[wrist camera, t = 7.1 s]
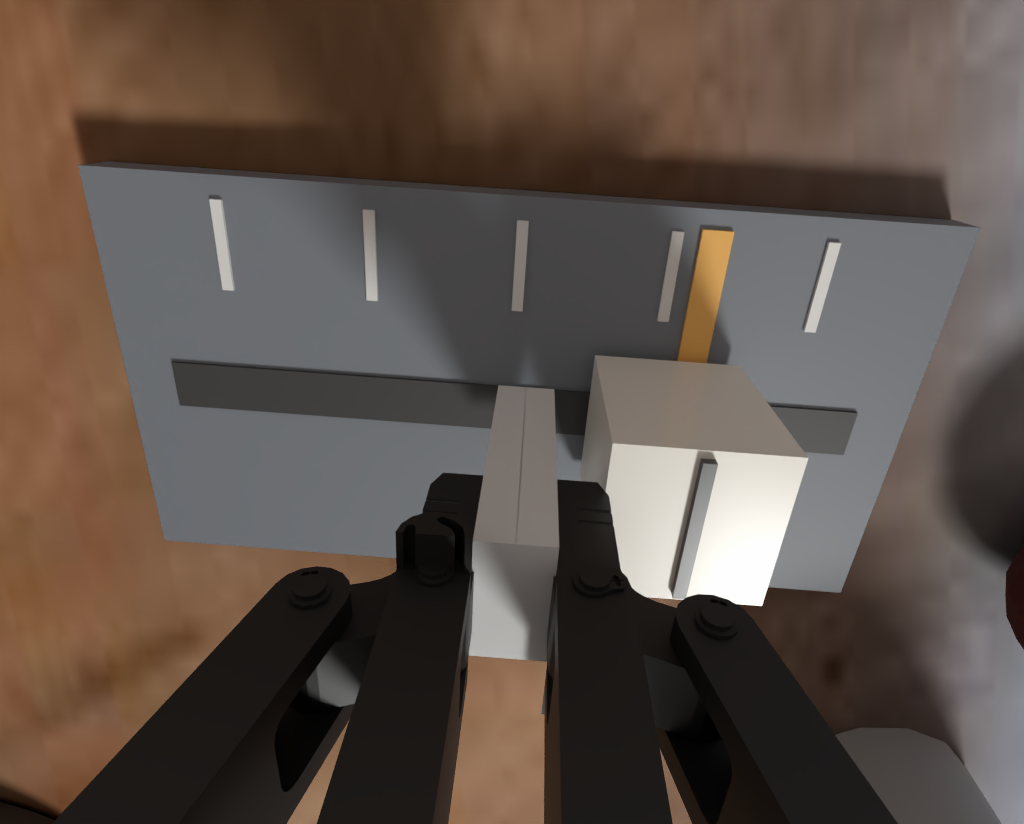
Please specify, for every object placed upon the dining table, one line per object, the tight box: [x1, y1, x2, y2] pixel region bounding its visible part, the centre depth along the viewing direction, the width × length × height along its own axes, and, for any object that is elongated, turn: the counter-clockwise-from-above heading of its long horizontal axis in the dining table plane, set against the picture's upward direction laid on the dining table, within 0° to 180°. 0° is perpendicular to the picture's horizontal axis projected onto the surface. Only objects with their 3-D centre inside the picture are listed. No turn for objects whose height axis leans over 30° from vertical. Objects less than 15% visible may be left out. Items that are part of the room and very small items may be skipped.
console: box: [78, 161, 980, 593], centre depth 19 cm, size 23×12×1 cm, turn 86°
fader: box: [579, 355, 808, 606], centre depth 16 cm, size 4×4×5 cm
